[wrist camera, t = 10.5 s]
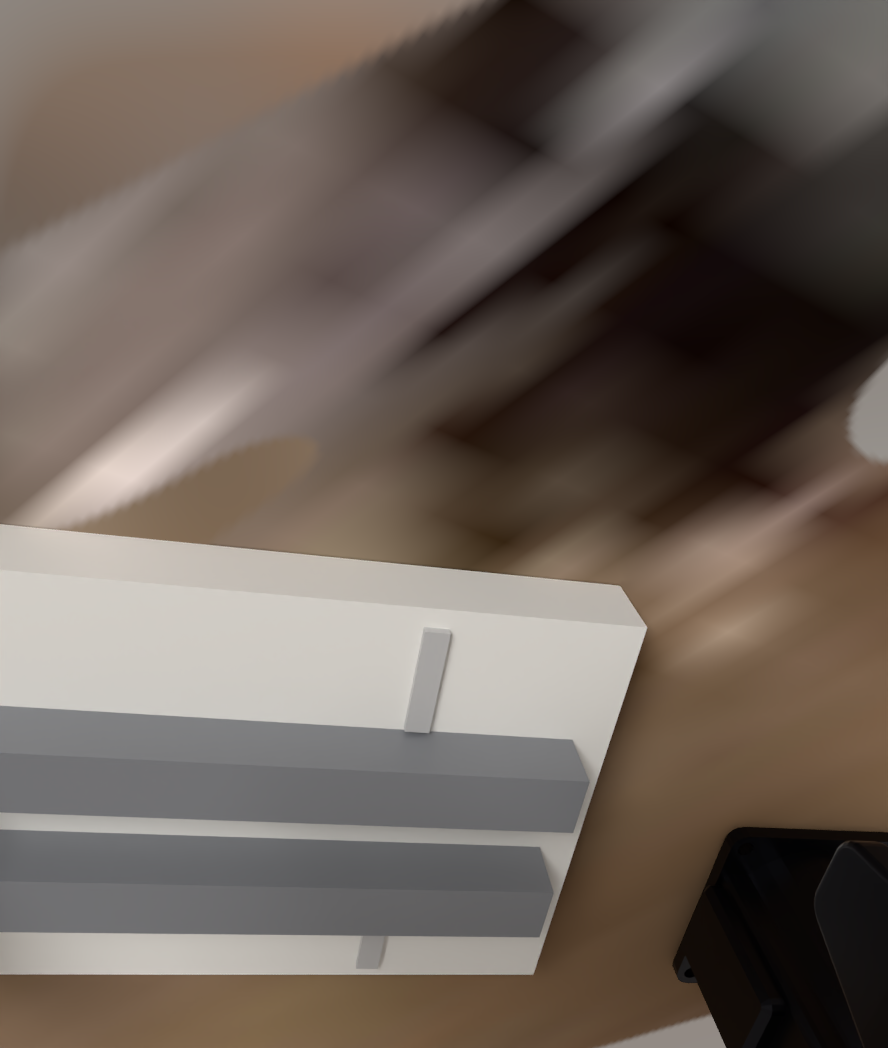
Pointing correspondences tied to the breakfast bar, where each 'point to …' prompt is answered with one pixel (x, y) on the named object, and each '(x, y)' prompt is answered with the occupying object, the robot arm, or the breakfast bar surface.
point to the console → (291, 758)
